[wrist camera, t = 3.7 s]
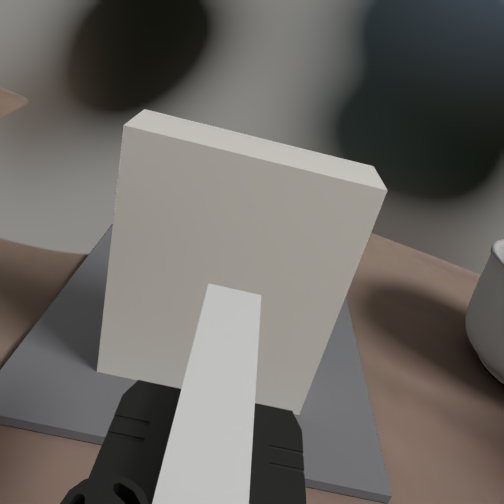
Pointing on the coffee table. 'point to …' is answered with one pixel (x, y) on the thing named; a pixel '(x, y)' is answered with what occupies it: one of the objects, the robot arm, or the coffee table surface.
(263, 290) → the tile
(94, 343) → the mat
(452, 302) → the coffee table surface
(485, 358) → the teacup
